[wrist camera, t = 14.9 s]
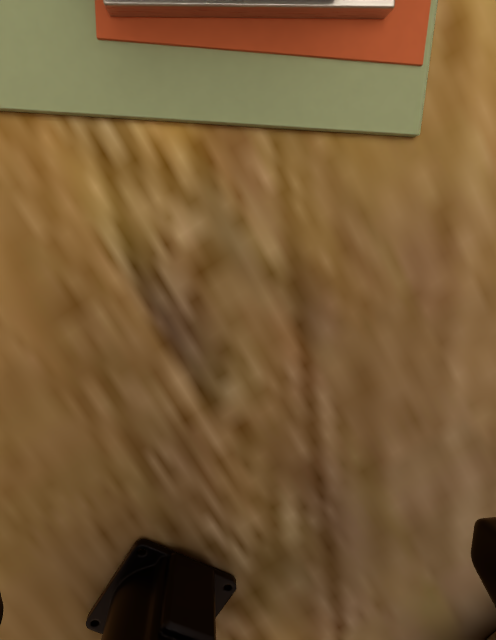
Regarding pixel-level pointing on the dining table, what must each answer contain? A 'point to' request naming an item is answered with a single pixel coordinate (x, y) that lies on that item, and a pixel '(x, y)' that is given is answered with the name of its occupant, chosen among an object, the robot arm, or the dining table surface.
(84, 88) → the ironing mat
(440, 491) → the dining table surface
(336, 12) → the iron
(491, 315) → the dining table surface
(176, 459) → the dining table surface
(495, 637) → the ceramic jug
